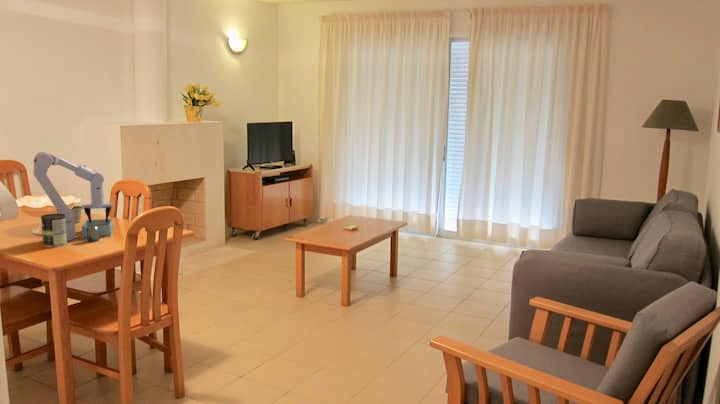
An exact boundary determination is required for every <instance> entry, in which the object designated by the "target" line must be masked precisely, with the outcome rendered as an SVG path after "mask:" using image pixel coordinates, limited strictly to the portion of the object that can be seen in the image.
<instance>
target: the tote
mask: <svg viewBox="0 0 720 404" xmlns="http://www.w3.org/2000/svg"><path fill="white" fill-rule="evenodd" d="M94 223H105V226H98V236H99V237H111V236H112V234H113V230H114V221H113V218H108V222H106V218H103V219H91V223H89V219H85V220H84V222H83V224H82V225H81V237H82V238H83V239H84V238H87V227H89V226H93V224H94Z"/></svg>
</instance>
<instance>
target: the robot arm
mask: <svg viewBox="0 0 720 404" xmlns="http://www.w3.org/2000/svg"><path fill="white" fill-rule="evenodd" d="M51 166H61V167H63V168H65V169H68V170H70V171H72V172H73V173H74V175H75V176H77V177H79V178H81V179H83V180H86V181H88V182H90V200H91V203H90V204H89V203H88V204H81V206H82V210H83V211H84V213H85V214H86V216H87V220H89V223H91V220H92V213H91V212H92V211H91V209H104V211H105V219H106V222H108V219H109V215H110V213H111V210H112V209H114V203H104V201H105V199H104V186H103V183H104V182H105V178H104V176H103V175H102V174H101V173H99V172H97V171H96V170H95V169H90V168H88V167H87V166H88V165H85V164H79V165H76V164H74V163H72V162H70V161H68V160H66V159H64V158H63V157H60V156H57V155H54V154H51V153H47V152H46V151H40V152H38V153H36V154H35V157H34V158H33V176H34V178H35V179H36V181H37V182H38V184H39V185H40V186H41V188H42V190H43V191H44V192H45V194H46V196H47V197H48V198H49V200H50V202H51V203H52V205H53V206H54V208H55V211H56V214H64V215H65V222H66V237H67V242H70V241H72V240H75V239H78V238H80V235H76V223H74V217H75V213H74V211H72V210H71V209H69V208H68V205H67V204H66V202H65V201H64V199H63V198H62V196H61V195H60V194H59V191H57V189H56V187H55V186H54V184H53V183H52V181H51V180H50V178H49V177H48V175H47V173H48V169H49V168H50V167H51Z"/></svg>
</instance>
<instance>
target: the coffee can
mask: <svg viewBox="0 0 720 404" xmlns="http://www.w3.org/2000/svg"><path fill="white" fill-rule="evenodd" d="M40 219H41V220H40V221H41V229H42V230H41V232H42V244H43V245H42V246H43V247H46V248H57V247H58V248H60V247H63V246H66V245H67V244H68V241H67V237H66V222H65V215H64V214H57V213H50V214H42V215H40Z"/></svg>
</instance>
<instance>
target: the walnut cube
mask: <svg viewBox="0 0 720 404" xmlns="http://www.w3.org/2000/svg"><path fill="white" fill-rule="evenodd" d="M93 226H105V223H94V224H93Z"/></svg>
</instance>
